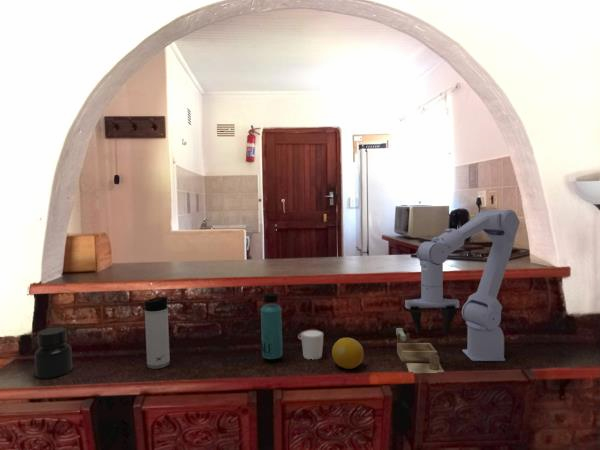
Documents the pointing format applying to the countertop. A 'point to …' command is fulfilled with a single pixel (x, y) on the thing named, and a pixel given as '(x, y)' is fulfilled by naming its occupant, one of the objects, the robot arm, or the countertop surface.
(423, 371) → the lid
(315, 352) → the white mug
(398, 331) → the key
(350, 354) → the fruit
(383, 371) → the countertop surface
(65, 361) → the ink bottle
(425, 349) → the toolbox
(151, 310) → the travel mug
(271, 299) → the beverage bottle
